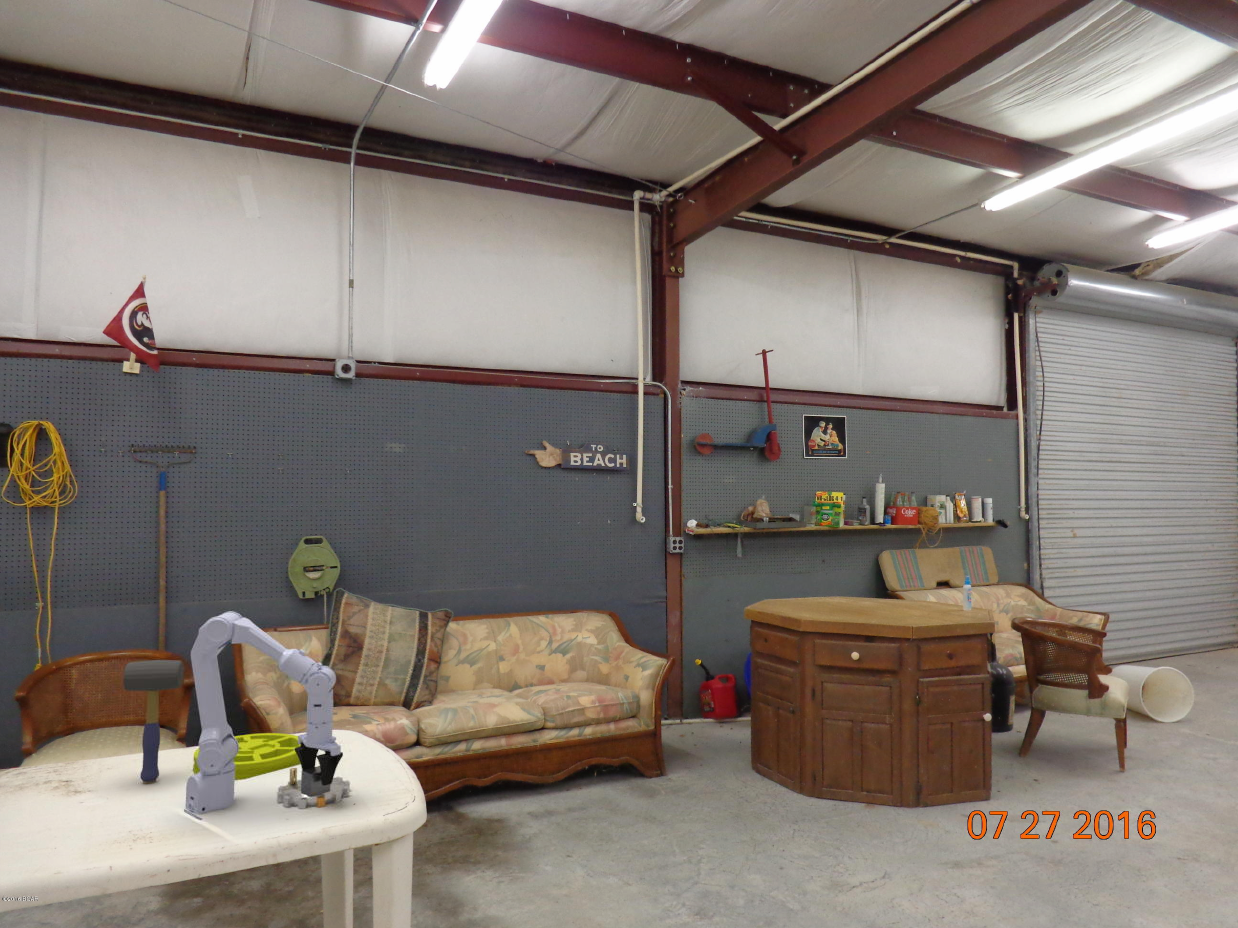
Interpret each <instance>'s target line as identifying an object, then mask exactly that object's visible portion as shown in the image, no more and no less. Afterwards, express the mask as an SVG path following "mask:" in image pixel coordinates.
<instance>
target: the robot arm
mask: <svg viewBox="0 0 1238 928" xmlns="http://www.w3.org/2000/svg"><path fill="white" fill-rule="evenodd" d="M228 643H231V644H234V645H235V644H248V645H250V646H251V647H253V648H255V649H256V650H258V651H259V652H261V653H263V654H264V655H267V656H268V657H270V658H271V659H273V660H274V661H276V662H277V665H278V669H279V671H282V673H283V674H285V675H287V676H288V677H290V678H291V679H293V680H294V681H296V682H297V683H299V684H300V685H303V686H304V689H305V692H306V693H307V703H306V725H305V726H306V731H305V733H303V734H299V735H297V736H298V744H301V745H300V747H296V748H295V752H296V754H297V756H298V758H299V760H300V763H301V764H300V767H301V771H302V770H306V769H310V768H313V767H316V763H317V762H318V764H319V766H320V769H321V781H322V785H323V786H325V785H329V784H332V781H333V778H335V777H334V776H335V773H336V771H337V767H338V765H339V763H340V761H341V759H343V756H344V753H343V752H342V750H341V748H342V746H341V745H339V744H338V743H337V742H336V741H337V737H336V736H333V724H334V723H333V721H334V719H333V718H334V717H333V716H334V689H332V688H333V687H334V686H335V684H336V681H337V675H336V672H335V671H334V670H333V669H332V668H331V667H330V666H328V665H323V662H322V663H321V662H320V661H319V662H316V661H315V660H314V659H312V658H310V657H309V656H308V655H306V651H305V650H304V649H302V648H301V649H300V650H298V649H297V648H290V649H288V648H286V647H285V646H284V645H282V644H281V643H280V642H278V641H277V640H276V639H274V638H273V637H271V636H270V635H269V634H268V633H266V632H265V631H264V630H262V629H261V628H260V627H259V626H257V625H256V624H255V623H254V622H252V620H250V619H249V618H246V617H245V616H244V617H243V616H242V615H241V614H240V613H238V612H236V611H230V610H229V611H225V612H224V613H222V614H219V615H218V616H212V617H211V618H209V619H208V620H207V621H206V622H205V623H203V625H202V626H200V628H199V629H198V633H197V637H196V639H195V641H194V644H193V647H192V648H191V651H190V660H191V667H192V674H193V679H194V680H193V681H194V685H195V693H196V700H197V706H198V713H199V719H200V726H201V733H200V737H199V741H198V748H199V753H198V756H197V765H198V767H199V769H200V772H199V773H197V774H194V775H191V776H189V777H188V778H187V782H186V787H185V788H186V790H185V808H184V809H183V812H184V813H186V814H188V815H190V816H191V817H194V818H195V819H197V820H200V821H201V820H203V818H201V817H200V816H197V815H201V814H205V813H208V812H212V811H217V810H222V809H226V808H228V807H231V806H232V805H233V804H234V802H235V785H236V784H235V782H236V780H235V763H234V761H233V758H234V757H235V756H236V755H237V753H238V751H239V744H238V741H237V740H236V738H235V735H234V734H233V729H232V727H231V726H230V725H229V723H228V721H227V720H228V719H227V713H226V706H225V700H224V695H223V688H222V682H221V681H222V680H221V673H220V668H219V661H218V655H219V654H220V653H221V651H222V650H224V648H225V647H226V646H227V644H228ZM319 751H322V752H324V753H321V754H318V753H319ZM316 761H317V762H316Z"/></svg>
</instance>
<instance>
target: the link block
mask: <svg viewBox="0 0 1238 928" xmlns="http://www.w3.org/2000/svg"><path fill="white" fill-rule="evenodd" d="M300 777H301V779H300V780H301V793H303V794H305V795H307V796H310V797H312V796H315V795H318V794H322V793H325V792H328V791H330V784H329V785H325V786H323V785H322V781H321V769H320V765H318V766H315V767H313V768H310V769H306V770H302V769H301V776H300Z"/></svg>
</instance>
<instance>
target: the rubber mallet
mask: <svg viewBox="0 0 1238 928" xmlns="http://www.w3.org/2000/svg"><path fill="white" fill-rule="evenodd" d="M183 679H184V663H183V662H182V660H172V659H171V660H170V659H153V660H141V661H131V662H128V663H127V664H126V665H125V667H124V669H123V679H122V682H123V683H122V684H123V685H122V686H123V688H124V689H125V691H127V692H128V691H130V692H133V691H134V692H135V691H136V692H147V698H146V699H147V702H146V720H145V724H144V727H143V732H142V743H141V744H142V753H143V755H142V769H141V771H140V780H141V781H142V783H143V784H152V783H156V781H157V779H158V778H159V776H160V770H159V750H160V744H161V730H160V729H161V728H160V723H159V707H160V706H159V704H160V703H159V702H160V700H159V699H160V698H159V697H160V691H164V690H165V691H166V690H174V689H179V688H180V687H181V686H182V684H183Z"/></svg>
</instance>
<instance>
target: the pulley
mask: <svg viewBox="0 0 1238 928" xmlns="http://www.w3.org/2000/svg"><path fill="white" fill-rule="evenodd" d="M234 737H235V738H236V740H237V741H238V744H239V751H238V753H237V755H236V756H235V757H234V758H233V761H234V763H235V781H238V780H239V781H240V780H242V779H243V780H247V779H250V778H254V777H259V776H262V775H266V774H270V773H273V772H276V771H280V770H284V769H288V768H294V767H296V766H301V763H300V760H299V758H298V756H297V754H296V752H295V748H296V747H300V745H301V744H298V735H295V734H291V733H290V734H289V733H277V732H276V733H275V732H274V733H273V732H265V733H263V732H262V733H250V734H244V735H243V734H242V735H236V736H235V735H234ZM198 753H199V747H198V748H197V749H196V750H194V752H193V766H192V767H193V768H192V769H193V770H192V771H193V772H195V773H196V774H197V773H199V772H200V769H199V767H198V765H197V756H198ZM196 774H195V775H196Z"/></svg>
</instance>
